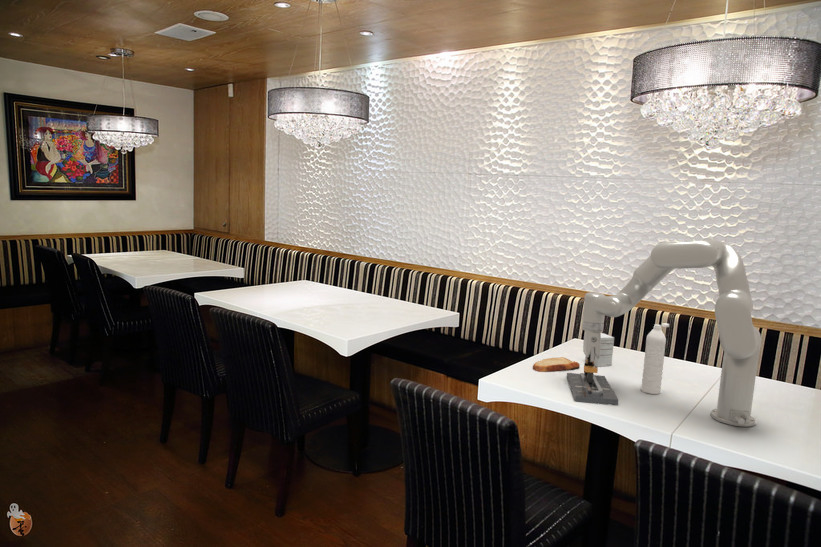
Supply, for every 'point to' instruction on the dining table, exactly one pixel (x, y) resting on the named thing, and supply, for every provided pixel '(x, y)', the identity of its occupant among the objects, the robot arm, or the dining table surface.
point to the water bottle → (654, 360)
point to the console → (591, 389)
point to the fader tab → (590, 372)
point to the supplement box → (605, 351)
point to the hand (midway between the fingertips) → (588, 373)
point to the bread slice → (555, 365)
